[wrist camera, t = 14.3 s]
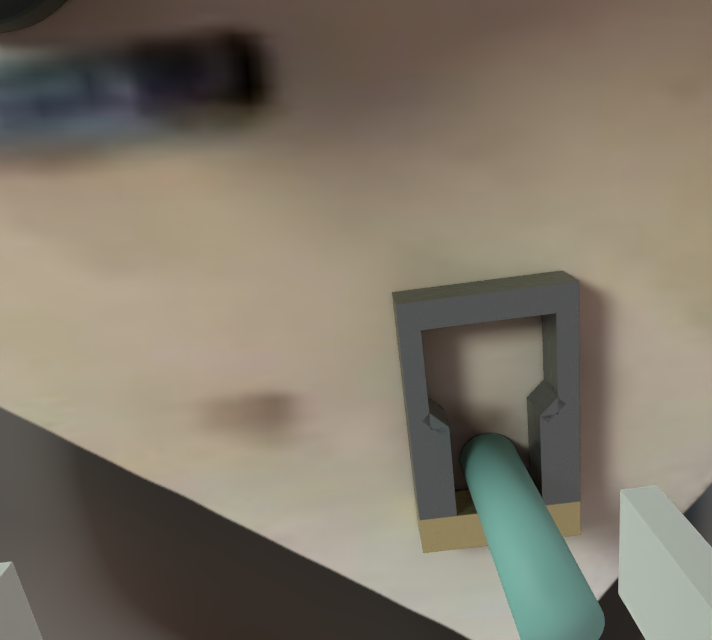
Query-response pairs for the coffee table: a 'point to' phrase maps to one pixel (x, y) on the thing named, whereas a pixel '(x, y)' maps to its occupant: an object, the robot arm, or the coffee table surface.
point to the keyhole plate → (544, 405)
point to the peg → (528, 546)
